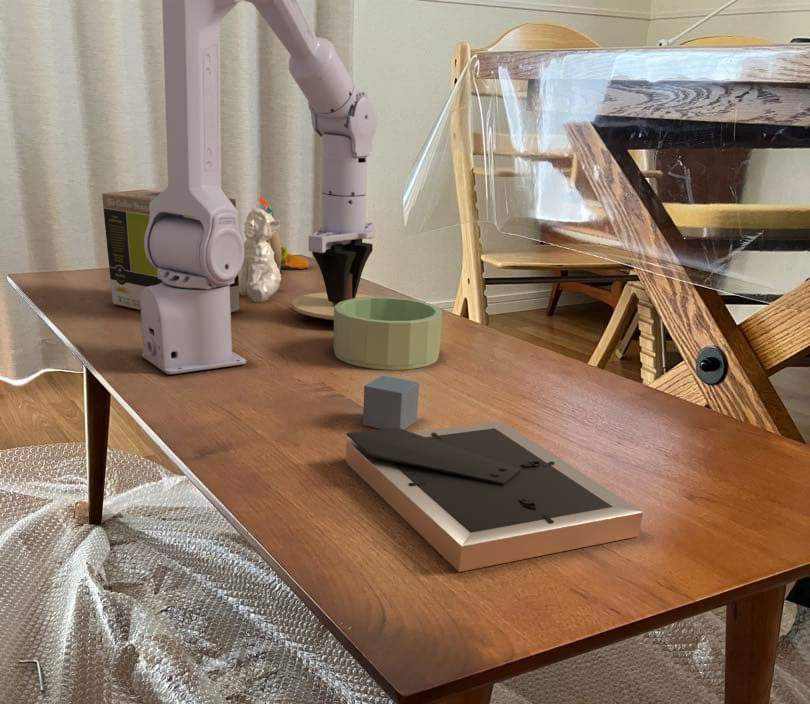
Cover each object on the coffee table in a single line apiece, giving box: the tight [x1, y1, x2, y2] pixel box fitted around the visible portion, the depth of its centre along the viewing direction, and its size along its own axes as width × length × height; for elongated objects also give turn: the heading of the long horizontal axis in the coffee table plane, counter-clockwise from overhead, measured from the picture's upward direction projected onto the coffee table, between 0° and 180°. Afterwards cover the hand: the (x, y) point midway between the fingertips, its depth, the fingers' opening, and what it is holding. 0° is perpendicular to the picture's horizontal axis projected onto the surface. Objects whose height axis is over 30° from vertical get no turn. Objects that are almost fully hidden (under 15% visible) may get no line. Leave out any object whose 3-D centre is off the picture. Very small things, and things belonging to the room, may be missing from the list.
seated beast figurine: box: [238, 207, 282, 303], centre depth 133 cm, size 10×9×12 cm
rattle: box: [258, 196, 310, 271], centre depth 149 cm, size 8×8×12 cm
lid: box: [291, 273, 375, 321], centre depth 123 cm, size 14×14×5 cm
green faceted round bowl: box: [333, 296, 443, 371], centre depth 109 cm, size 13×13×6 cm
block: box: [362, 375, 420, 430], centre depth 89 cm, size 4×4×4 cm
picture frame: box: [345, 420, 644, 573], centre depth 74 cm, size 16×3×21 cm
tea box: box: [101, 188, 240, 313], centre depth 122 cm, size 15×10×15 cm
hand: (341, 299), depth 124 cm, fingers closed on lid, 2 cm apart
